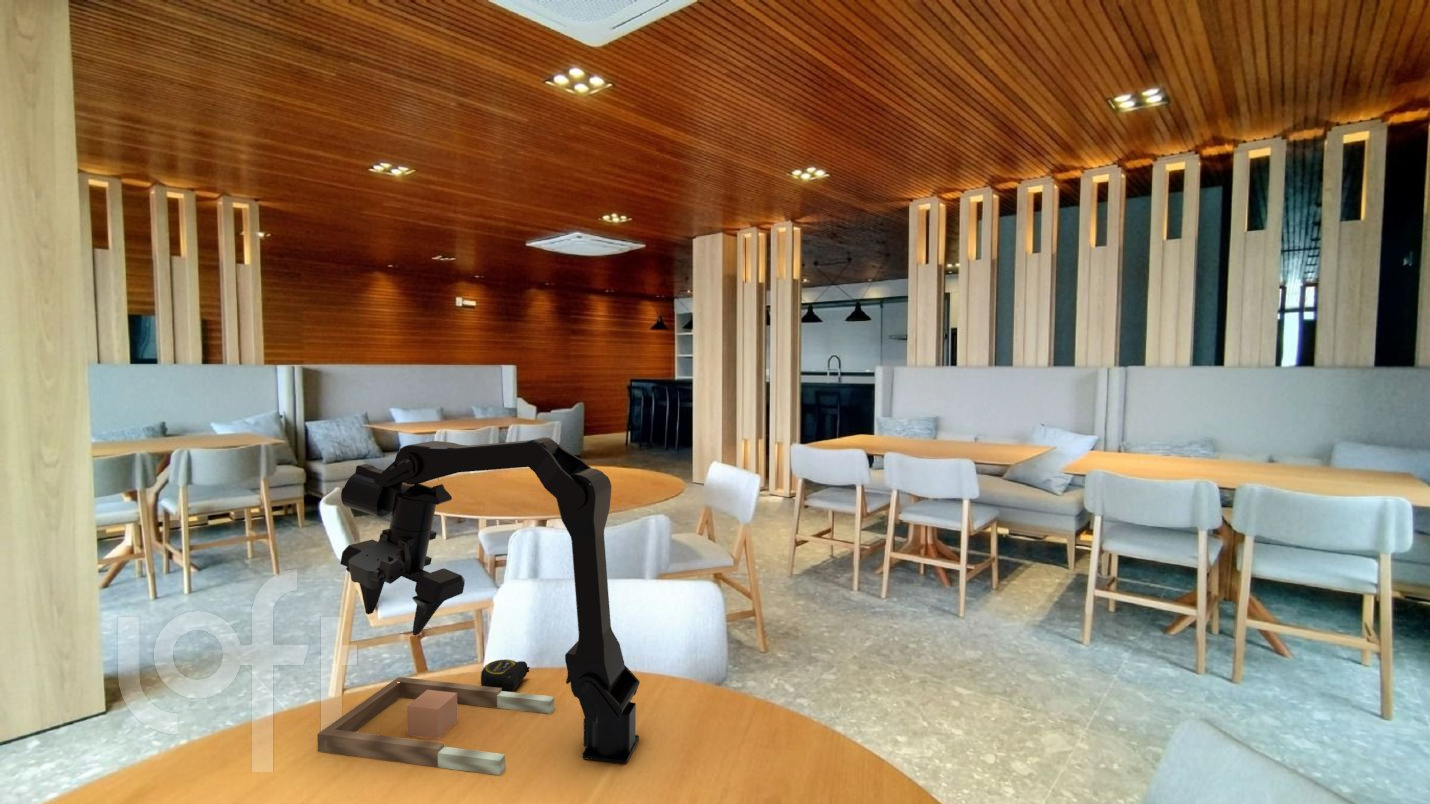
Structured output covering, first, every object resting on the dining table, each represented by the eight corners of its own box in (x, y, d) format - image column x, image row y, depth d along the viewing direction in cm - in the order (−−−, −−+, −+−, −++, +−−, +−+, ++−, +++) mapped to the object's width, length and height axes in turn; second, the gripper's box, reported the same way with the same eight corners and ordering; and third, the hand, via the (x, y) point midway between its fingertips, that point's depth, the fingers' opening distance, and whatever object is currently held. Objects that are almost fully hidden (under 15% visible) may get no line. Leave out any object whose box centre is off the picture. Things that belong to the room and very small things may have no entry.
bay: (554, 709, 105) (554, 693, 105) (499, 775, 88) (499, 757, 88) (398, 691, 110) (398, 676, 110) (317, 751, 93) (317, 733, 92)
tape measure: (512, 699, 108) (512, 677, 108) (472, 696, 109) (473, 673, 109) (529, 680, 115) (529, 659, 115) (492, 677, 116) (492, 656, 116)
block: (457, 721, 101) (457, 692, 101) (438, 739, 96) (437, 709, 96) (427, 718, 102) (427, 689, 102) (407, 735, 97) (406, 705, 97)
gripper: (317, 515, 93) (298, 619, 95) (419, 556, 88) (398, 667, 89) (380, 503, 104) (363, 597, 105) (475, 539, 98) (455, 638, 99)
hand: (392, 623), depth 99 cm, fingers open, 9 cm apart
